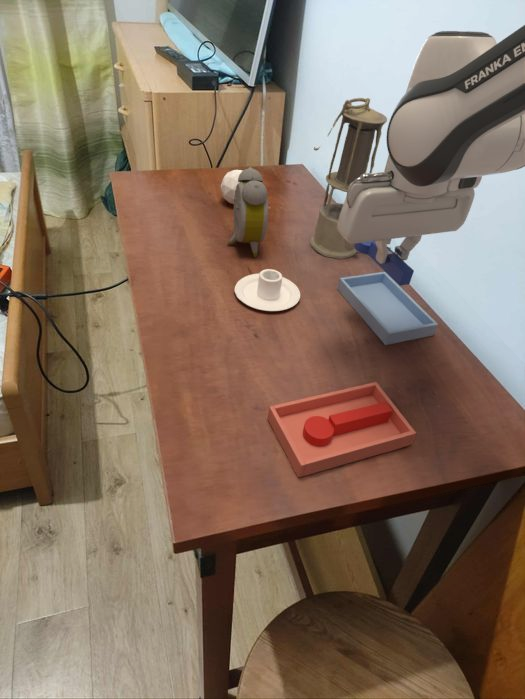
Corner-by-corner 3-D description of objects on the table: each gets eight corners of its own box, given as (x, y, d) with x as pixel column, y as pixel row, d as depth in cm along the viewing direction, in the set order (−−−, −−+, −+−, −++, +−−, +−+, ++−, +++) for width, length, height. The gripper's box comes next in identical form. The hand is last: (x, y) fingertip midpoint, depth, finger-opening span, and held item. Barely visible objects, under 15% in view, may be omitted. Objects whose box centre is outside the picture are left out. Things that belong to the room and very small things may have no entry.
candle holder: (223, 300, 91) (224, 280, 88) (251, 270, 99) (253, 250, 96) (285, 322, 88) (288, 301, 85) (308, 289, 96) (312, 269, 94)
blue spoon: (415, 283, 76) (420, 269, 74) (393, 287, 74) (397, 273, 73) (370, 241, 84) (373, 228, 83) (349, 243, 83) (352, 230, 81)
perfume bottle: (216, 195, 115) (209, 180, 124) (243, 216, 119) (235, 200, 128) (237, 167, 112) (229, 154, 122) (265, 190, 116) (255, 175, 126)
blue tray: (433, 335, 89) (438, 324, 88) (385, 345, 86) (389, 333, 84) (381, 282, 101) (384, 271, 99) (336, 289, 97) (339, 277, 96)
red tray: (372, 393, 76) (376, 381, 75) (411, 445, 70) (416, 433, 68) (267, 418, 70) (269, 406, 69) (298, 477, 64) (301, 465, 62)
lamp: (362, 259, 107) (402, 108, 88) (301, 257, 105) (329, 102, 86) (351, 235, 115) (386, 91, 95) (294, 232, 113) (318, 85, 93)
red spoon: (377, 407, 74) (381, 395, 72) (392, 427, 71) (396, 416, 69) (297, 427, 69) (300, 415, 68) (310, 449, 66) (313, 437, 65)
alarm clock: (263, 260, 103) (272, 188, 93) (230, 259, 101) (235, 187, 92) (255, 232, 111) (262, 163, 102) (224, 231, 110) (228, 162, 100)
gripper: (365, 184, 62) (342, 280, 71) (492, 175, 69) (456, 263, 78) (340, 164, 66) (321, 257, 75) (462, 157, 74) (431, 242, 83)
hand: (391, 260), depth 77 cm, fingers closed on blue spoon, 2 cm apart
